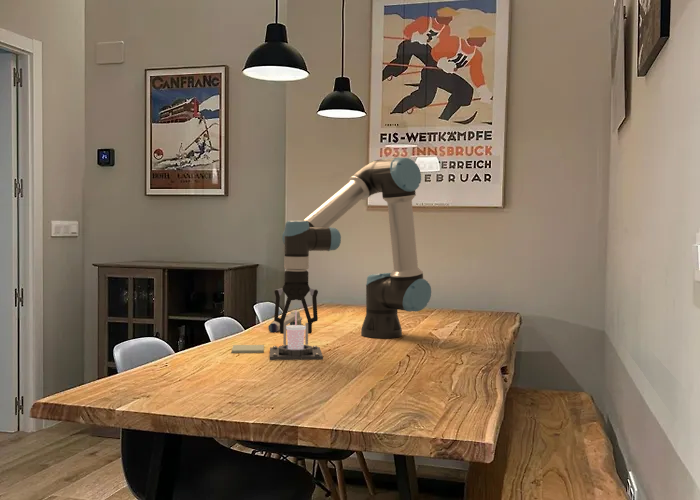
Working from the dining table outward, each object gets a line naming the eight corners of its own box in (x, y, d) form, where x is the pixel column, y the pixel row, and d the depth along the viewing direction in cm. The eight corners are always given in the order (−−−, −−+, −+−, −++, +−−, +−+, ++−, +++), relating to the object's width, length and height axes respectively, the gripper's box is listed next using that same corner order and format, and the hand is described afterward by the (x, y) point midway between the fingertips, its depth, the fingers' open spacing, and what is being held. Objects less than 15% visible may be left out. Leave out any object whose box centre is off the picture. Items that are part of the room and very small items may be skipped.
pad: (264, 347, 230) (264, 344, 230) (263, 352, 220) (263, 350, 220) (233, 347, 229) (233, 345, 229) (231, 353, 219) (231, 350, 219)
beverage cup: (290, 357, 213) (290, 311, 212) (282, 353, 218) (283, 309, 218) (308, 355, 216) (309, 310, 215) (300, 352, 221) (301, 308, 221)
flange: (319, 350, 226) (319, 342, 226) (322, 359, 210) (322, 351, 210) (269, 350, 224) (270, 343, 224) (269, 359, 208) (269, 352, 208)
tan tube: (266, 322, 263) (291, 306, 286) (267, 339, 264) (292, 322, 287) (279, 323, 261) (303, 307, 285) (279, 340, 262) (304, 322, 286)
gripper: (326, 269, 221) (325, 341, 222) (265, 269, 219) (265, 342, 220) (327, 271, 213) (327, 345, 214) (265, 270, 211) (264, 346, 212)
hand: (295, 343), depth 217 cm, fingers closed on beverage cup, 6 cm apart
